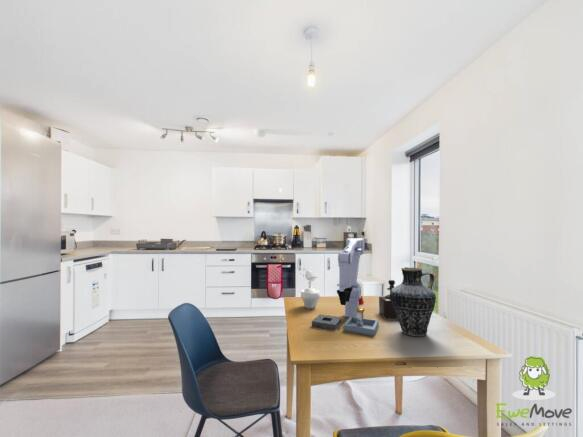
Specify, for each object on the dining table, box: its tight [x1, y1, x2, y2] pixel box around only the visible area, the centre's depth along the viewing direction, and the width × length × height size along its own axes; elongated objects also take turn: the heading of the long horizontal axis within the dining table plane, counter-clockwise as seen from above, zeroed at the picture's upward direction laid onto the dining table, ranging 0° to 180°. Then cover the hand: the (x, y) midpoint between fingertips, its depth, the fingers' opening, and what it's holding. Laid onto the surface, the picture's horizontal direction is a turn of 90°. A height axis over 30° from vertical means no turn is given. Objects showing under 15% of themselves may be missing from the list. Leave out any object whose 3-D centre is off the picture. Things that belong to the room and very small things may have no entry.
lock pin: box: [356, 307, 365, 327], centre depth 141 cm, size 4×4×9 cm
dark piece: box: [378, 279, 398, 319], centre depth 164 cm, size 16×11×18 cm
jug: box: [389, 266, 437, 337], centre depth 136 cm, size 21×19×30 cm
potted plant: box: [299, 268, 321, 309], centre depth 176 cm, size 13×12×25 cm
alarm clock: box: [358, 295, 365, 306], centre depth 188 cm, size 10×6×15 cm
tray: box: [343, 316, 380, 337], centre depth 141 cm, size 14×14×3 cm
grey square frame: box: [311, 313, 343, 331], centre depth 147 cm, size 12×12×2 cm
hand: (344, 303), depth 147 cm, fingers open, 7 cm apart
